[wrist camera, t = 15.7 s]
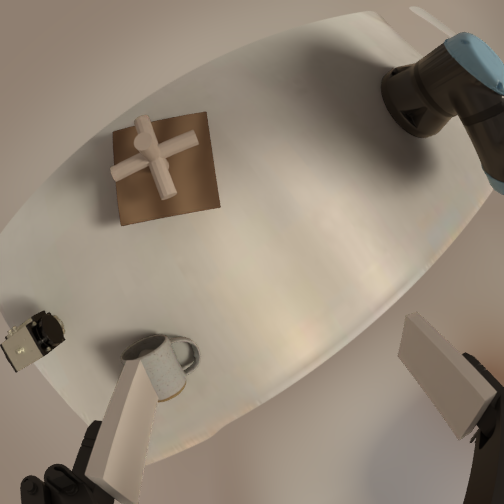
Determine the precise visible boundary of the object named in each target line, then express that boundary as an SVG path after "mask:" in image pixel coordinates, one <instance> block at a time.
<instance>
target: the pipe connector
mask: <svg viewBox="0 0 504 504" xmlns="http://www.w3.org/2000/svg"><path fill="white" fill-rule="evenodd" d="M134 124H135V127H136V130H137V133H138V135H137V136H136V138H135V140H134V146H135V148H136V149H137V150H138V151H139V152H140V153H138V154H136V155H134V156H132V157H130V158H128V159H126V160H124V161H122V162H120V163H118V164H116V165H114V166H112V167H111V168H110V171H111V174H112V177H113V178H114V180H115V181H116V182H117V181H119V180H121V179H123V178H125V177H127V176H129V175H131V174H133V173H135V172H137V171H139V170H141V169H143V168H145V167H147V166H149V168H150V170H151V173H152V176H153V178H154V181H155V184H156V186H157V189H158V192H159V194H160V197H161V200H165V199H168V198H171V197H173V196H175V195H176V194H177V191H176V189H175V186H174V184H173V181H172V178H171V176H170V173H169V171H168V169H169V163H168V161H167V160H166V158H167V157H170V156H172V155H174V154H177V153H179V152H181V151H184V150H186V149H189V148H191V147H193V146H196V145H199V143H198V140H197V137H196V134H195V132H194V130H191V131H189V132H186V133H184V134H181V135H179V136H176V137H174V138H172V139H169V140H167V141H165V142H162V143H160V144H158V141H157V138H156V136H155V133H154V130H153V127H152V124H151V122H150V119H149V116H148V115H142V116H139V117H138V118H136V119H135V120H134Z"/></svg>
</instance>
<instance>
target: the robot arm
mask: <svg viewBox="0 0 504 504" xmlns="http://www.w3.org/2000/svg"><path fill="white" fill-rule="evenodd" d="M381 90H382V96H383V99H384V102H385V104H386V107H387V109H388V110H389V112H390V114H391V115H392V117H393V118H394V119H395V121H396V122H397V123H398V124H399V125H400V126H401V127H402V128H403V129H404V130H406V131H407V132H409V133H410V134H412V135H414V136H416V137H420V138H427V137H430V136H432V135H435V134H437V133H438V132H439V131H440V130H441V129H442V128H443V127H444V126H445V125H446V124H447V122H448V121H449V120H450V119H451V118H452V117H454V116H456V115H458V116H459V118H460V120H461V122H462V123H463V125H464V127H465V129H466V131H467V133H468V135H469V137H470V139H471V141H472V143H473V146H474V148H475V150H476V152H477V154H478V157H479V159H480V161H481V165H482V169H483V171H484V172H485V174H486V175H487V178H488V180H489V183H490V185H491V186H492V187H493V189H494V190H495V191H497V192H498V193H500V194H502V195H504V64H503V62H502V61H501V60H500V58H499V57H498V56H497V55H496V53H495V52H494V51H493V50H492V49H491V48H490V47H489V46H488V45H487V44H486V43H485V42H483V41H482V40H481V39H479V38H478V37H476V36H474V35H473V34H470V33H466V32H462V33H459V34H457V35H455V36H453V37H452V38H450V39H446V40H445V42H444V43H443V44H441V45H440V46H439V47H437V48H436V49H434V50H433V51H432V52H431V53H429V54H428V55H426V56H425V57H423V58H422V59H421V60H419V61H418V62H417V63H414V64H409V65H405V66H400V67H396V68H394V69H392V70H391V71H390V72H388V73H387V74H386V75H385V76H384V78H383V80H382V84H381ZM398 357H399V359H400V360H401V361H402V362H403V364H404V365H405V366H406V368H407V369H408V370H409V372H410V373H411V374H412V376H413V377H414V378H415V380H416V381H417V382H418V384H419V385H420V386H421V388H422V389H423V390H424V392H425V393H426V395H427V396H428V397H429V398H430V400H431V401H432V403H433V404H434V406H435V407H436V408H437V410H438V411H439V413H440V414H441V415H442V417H443V418H444V420H445V421H446V422H447V424H448V425H449V427H450V428H451V430H452V431H453V433H454V434H455V436H456V437H457V439H458V440H460V439H462V438H463V437H465V436H466V435H468V434H469V433H471V432H472V430H473V429H474V427H475V426H476V425H477V426H478V427H479V429H478V430H477V432H476V433H475V434H474V436H473V437H472V438H471V441H470V443H472V442H473V441H474V439H475V438H476V441H475V450H474V457H473V464H472V468H471V474H470V478H469V483H468V487H467V491H466V495H465V499H464V502H463V504H504V387H503V386H502V385H501V384H500V383H499V382H498V381H497V380H496V379H495V378H494V377H493V376H492V374H491V373H490V372H489V371H488V370H486V368H485V367H484V366H483V365H481V363H480V362H479V361H478V360H477V359H475V357H473V356H472V355H469V354H468V353H463V354H461V353H460V352H459V351H458V350H457V349H456V348H455V347H453V345H451V344H450V342H449V341H447V340H446V339H445V338H444V337H443V336H442V335H441V334H440V333H439V332H438V331H437V330H436V329H435V328H434V327H433V326H432V325H431V324H430V323H429V322H428V321H426V320H425V319H424V318H423V317H422V316H421V315H420V314H419V313H418V312H415V313H412V314H408V315H406V316H405V322H404V328H403V333H402V338H401V343H400V348H399V353H398ZM157 402H158V396H157V394H156V392H155V390H154V388H153V386H152V384H151V382H150V380H149V377H148V375H147V373H146V371H145V369H144V367H143V364H142V362H141V360H126V363H125V365H124V368H123V370H122V372H121V375H120V377H119V380H118V382H117V385H116V387H115V390H114V392H113V395H112V397H111V400H110V402H109V405H108V408H107V410H106V413H105V416H104V418H103V421H97V420H94V421H93V422H92V424H91V425H90V426H89V427H88V428H87V431H86V433H85V436H84V439H83V441H82V444H81V445H82V446H81V447H80V449H79V452H78V455H77V458H76V461H75V464H74V466H73V469H72V471H71V470H69V469H68V468H67V467H66V466H64V465H62V464H54V465H52V466H50V467H48V469H47V470H46V471H45V474H44V482H43V481H41V480H40V479H39V478H37V477H36V476H32V475H30V476H27V477H25V478H24V479H23V481H22V482H21V487H20V489H21V503H22V504H114V499H116V500H117V501H119V502H120V503H122V504H138V503H139V497H140V490H141V484H142V478H143V471H144V467H145V461H146V456H147V450H148V445H149V440H150V435H151V430H152V425H153V421H154V416H155V411H156V407H157Z"/></svg>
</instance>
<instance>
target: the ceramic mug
mask: <svg viewBox="0 0 504 504" xmlns="http://www.w3.org/2000/svg"><path fill="white" fill-rule="evenodd" d="M182 341H183V342H188V343H190V344H191V346H192V349H193V352H194V357H195V360H194V362H193V364H192V365H191V366H190V367H188V368H187V369H185V370H183V369H182V367H181V365H180V363H179V361H178V359H177V357H176V355H175V352H174V350H173V348H172V346H171V345H172V344H173V343H175V342H182ZM126 360H141V362H142V364H143V367H144V369H145V371H146V373H147V375H148V377H149V380H150V382H151V384H152V386H153V388H154V390H155V392H156V394H157V396H158V402H164V401H168V400H170V399H172V398H174V397H176V396H177V395H178V394H180V393H181V391H182V390H183V389H184V387H185V385H186V378H185V376H186V375H189V374H190V373H192V372H193V371H194V370H195V369H196V368H197V367H198V366H199V363H200V360H201V354H200V350H199V347H198V346H197V344H196V343H195V342H193V341H192V340H191V339H189V338H186V337H175V338H171V339H168V337H167V336H165V335H159V334H158V335H153V336H149V337H146V338H144V339H142V340H139V341H137V342H136V343H134V344H132V345H131V346H129V347H128V348H127V349H126V350H125V351H124V352H123V353H122V355H121V361H122V363H123V365H125V363H126Z"/></svg>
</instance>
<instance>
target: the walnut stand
mask: <svg viewBox="0 0 504 504" xmlns="http://www.w3.org/2000/svg"><path fill="white" fill-rule="evenodd" d="M151 124H152V127H153V130H154V133H155V136H156V138H157V141H158V144H160V143H162V142H165V141H167V140H169V139H172V138H174V137H176V136H179V135H181V134H184V133H186V132H189V131H191V130H194V132H195V134H196V137H197V140H198V143H199V145H196V146H193V147H191V148H189V149H186V150H184V151H181V152H179V153H177V154H174V155H172V156H170V157H167V158H166V160H167V161H168V163H169V169H168V171H169V173H170V176H171V178H172V181H173V184H174V186H175V189H176V191H177V194H176V195H175V196H173V197H171V198H168V199H165V200H161V197H160V194H159V192H158V189H157V186H156V184H155V181H154V178H153V176H152V173H151V170H150V168H149V166H147V167H145V168H143V169H141V170H139V171H137V172H135V173H133V174H131V175H129V176H127V177H125V178H123V179H121V180H119V181H117V182H116V190H117V199H118V208H119V216H120V223H121V226H125V225H130V224H135V223H140V222H145V221H149V220H154V219H160V218H165V217H170V216H175V215H181V214H186V213H192V212H197V211H203V210H209V209H215V208H220V207H221V206H220V200H219V194H218V187H217V181H216V174H215V168H214V161H213V154H212V147H211V140H210V133H209V126H208V119H207V112H201V113H195V114H189V115H183V116H178V117H172V118H167V119H162V120H158V121H153V122H151ZM137 135H138V133H137V130H136V127H135V126H132V127H128V128H125V129H121V130H117V131H114V132H113V153H114V165H116V164H118V163H120V162H122V161H124V160H126V159H128V158H130V157H132V156H134V155H136V154H138V153H140V152H139V151H138V150H137V149H136V148H135V146H134V140H135V138H136V136H137Z"/></svg>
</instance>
